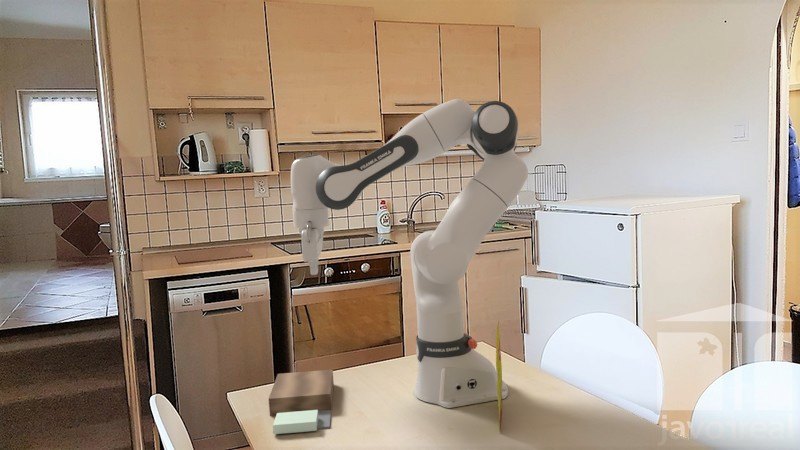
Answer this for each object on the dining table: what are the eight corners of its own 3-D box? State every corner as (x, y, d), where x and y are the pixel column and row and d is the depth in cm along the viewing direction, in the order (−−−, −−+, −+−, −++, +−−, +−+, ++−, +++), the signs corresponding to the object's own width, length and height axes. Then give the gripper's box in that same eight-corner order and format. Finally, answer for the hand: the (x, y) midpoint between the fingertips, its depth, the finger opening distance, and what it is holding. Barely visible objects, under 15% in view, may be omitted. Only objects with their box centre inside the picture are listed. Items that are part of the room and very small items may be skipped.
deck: (333, 384, 147) (332, 369, 147) (331, 410, 132) (330, 393, 131) (278, 388, 146) (277, 373, 146) (269, 415, 130) (268, 398, 130)
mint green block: (315, 421, 121) (316, 430, 121) (317, 409, 127) (318, 418, 127) (273, 425, 120) (273, 434, 120) (276, 413, 126) (277, 421, 126)
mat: (331, 411, 131) (331, 409, 131) (329, 428, 123) (329, 426, 123) (278, 415, 130) (278, 414, 130) (273, 432, 122) (273, 431, 122)
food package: (502, 434, 116) (499, 338, 114) (496, 434, 116) (493, 338, 114) (504, 403, 131) (501, 317, 129) (499, 402, 131) (496, 317, 129)
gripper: (321, 223, 134) (324, 281, 135) (325, 215, 154) (328, 266, 155) (293, 224, 133) (298, 282, 135) (301, 217, 154) (305, 267, 155)
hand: (314, 273), depth 145 cm, fingers closed
